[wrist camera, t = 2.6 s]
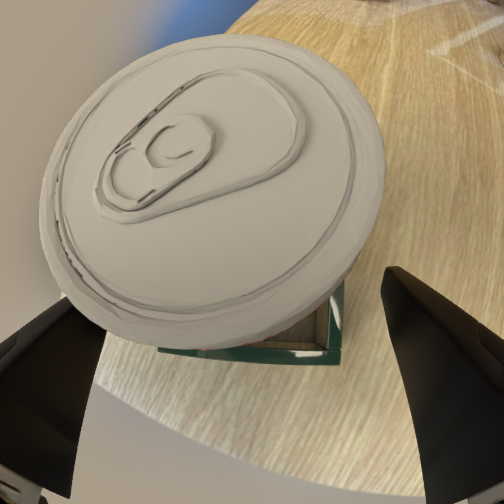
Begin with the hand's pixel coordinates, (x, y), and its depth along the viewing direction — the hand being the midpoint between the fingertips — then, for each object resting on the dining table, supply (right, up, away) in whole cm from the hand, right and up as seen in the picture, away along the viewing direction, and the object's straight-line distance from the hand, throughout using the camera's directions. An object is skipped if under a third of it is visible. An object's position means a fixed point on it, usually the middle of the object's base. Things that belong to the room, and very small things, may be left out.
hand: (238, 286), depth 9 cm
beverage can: (+1, -1, +10) cm, 10 cm away
